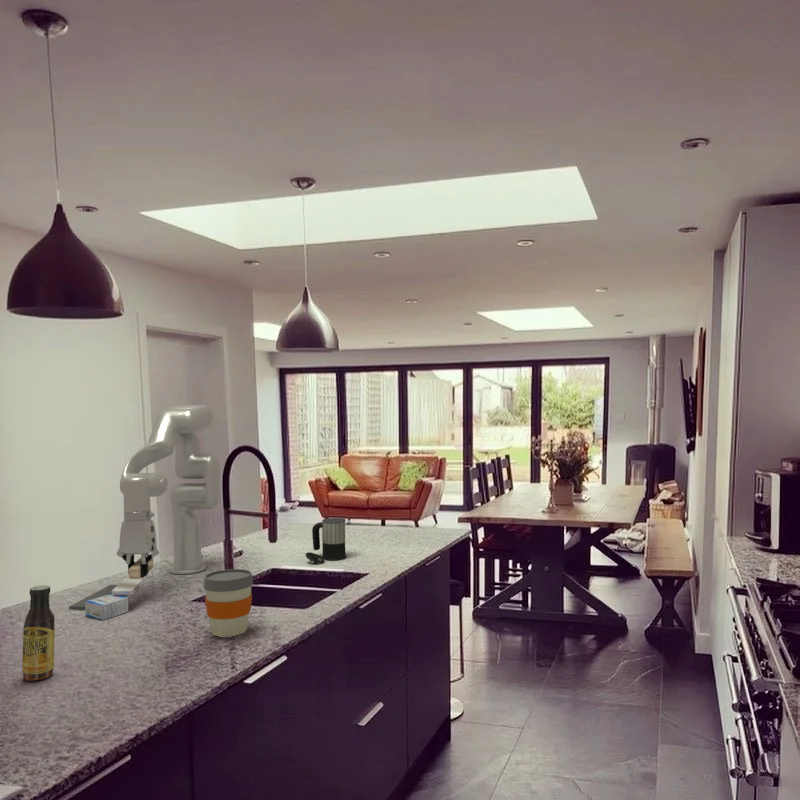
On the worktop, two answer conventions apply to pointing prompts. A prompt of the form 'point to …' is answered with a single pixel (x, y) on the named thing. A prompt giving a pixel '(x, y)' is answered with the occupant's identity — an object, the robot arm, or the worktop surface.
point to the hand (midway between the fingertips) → (138, 575)
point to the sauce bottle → (38, 636)
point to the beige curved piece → (132, 579)
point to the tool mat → (94, 597)
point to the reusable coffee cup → (228, 601)
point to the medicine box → (106, 606)
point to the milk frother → (329, 540)
